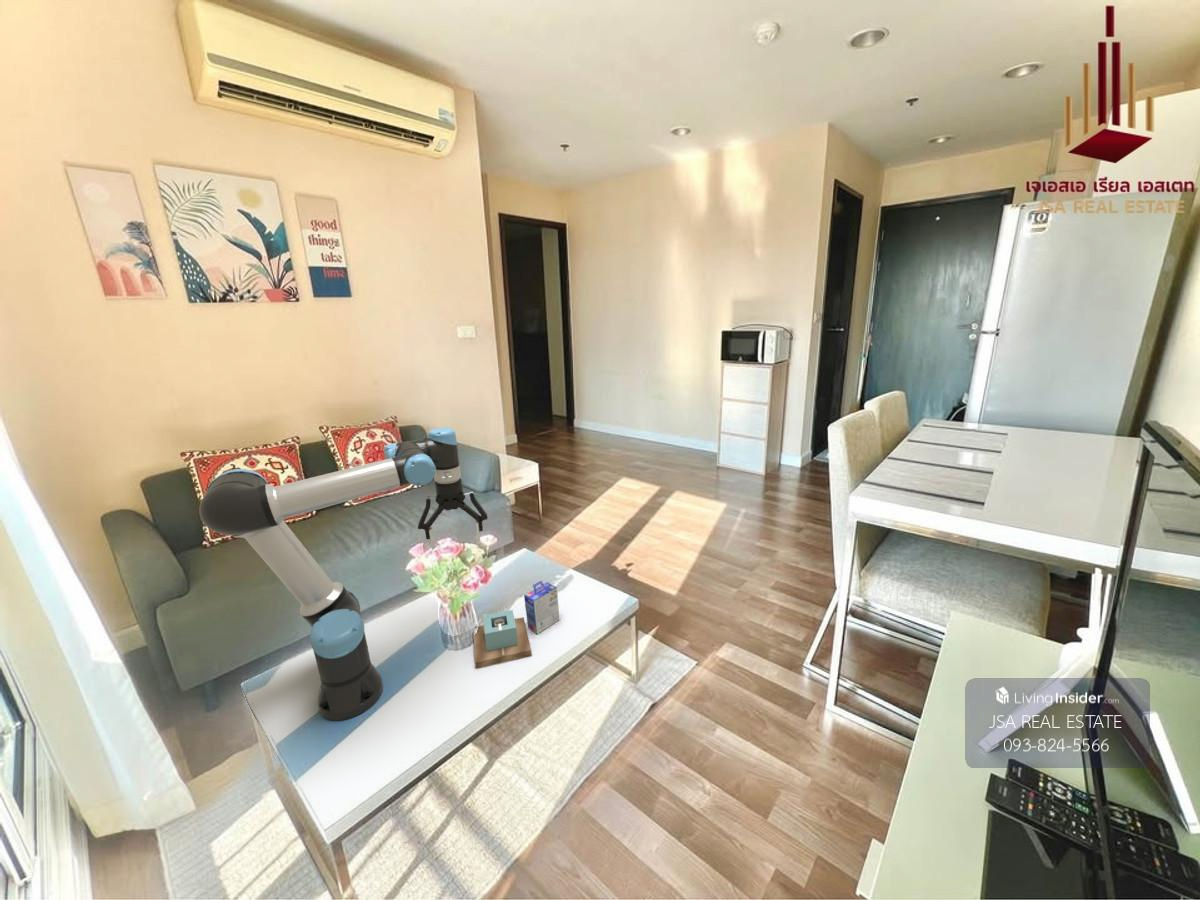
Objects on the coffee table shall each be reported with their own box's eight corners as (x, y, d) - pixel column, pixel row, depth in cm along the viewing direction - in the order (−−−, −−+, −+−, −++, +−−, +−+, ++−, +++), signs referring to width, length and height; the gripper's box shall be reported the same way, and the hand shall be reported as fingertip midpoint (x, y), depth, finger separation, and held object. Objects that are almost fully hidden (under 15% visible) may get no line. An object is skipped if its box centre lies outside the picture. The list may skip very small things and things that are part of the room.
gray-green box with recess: (486, 651, 135) (484, 633, 133) (485, 632, 144) (483, 614, 142) (517, 645, 138) (516, 626, 136) (514, 626, 146) (512, 608, 144)
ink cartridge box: (549, 612, 155) (546, 574, 151) (560, 619, 152) (558, 581, 148) (526, 627, 149) (522, 588, 144) (537, 634, 145) (533, 594, 141)
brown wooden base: (475, 668, 132) (472, 645, 129) (473, 632, 146) (470, 611, 144) (531, 655, 136) (529, 632, 134) (524, 622, 151) (522, 601, 149)
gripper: (401, 489, 130) (412, 556, 136) (491, 478, 137) (498, 543, 143) (404, 480, 137) (414, 545, 143) (490, 470, 144) (496, 532, 150)
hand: (456, 544), depth 143 cm, fingers open, 13 cm apart
